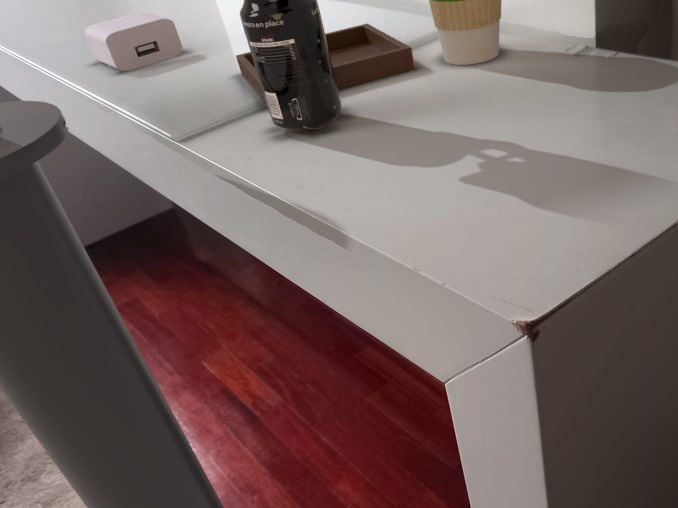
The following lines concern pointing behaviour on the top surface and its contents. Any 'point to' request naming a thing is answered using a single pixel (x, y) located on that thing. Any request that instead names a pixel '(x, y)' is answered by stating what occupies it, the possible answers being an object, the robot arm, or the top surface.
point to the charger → (134, 41)
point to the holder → (351, 57)
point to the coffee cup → (467, 29)
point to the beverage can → (292, 62)
